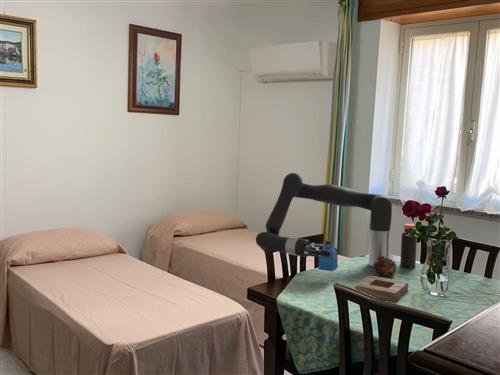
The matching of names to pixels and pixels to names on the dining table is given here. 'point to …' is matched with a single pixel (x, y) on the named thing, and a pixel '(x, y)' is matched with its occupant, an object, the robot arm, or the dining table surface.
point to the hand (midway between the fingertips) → (333, 252)
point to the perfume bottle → (328, 258)
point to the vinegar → (408, 249)
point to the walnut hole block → (383, 288)
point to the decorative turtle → (385, 266)
